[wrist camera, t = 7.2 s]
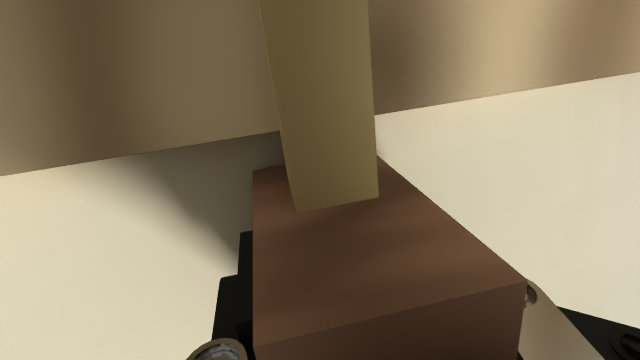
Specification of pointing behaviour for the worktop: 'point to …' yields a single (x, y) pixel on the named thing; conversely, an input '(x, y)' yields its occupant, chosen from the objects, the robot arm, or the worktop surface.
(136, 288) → the worktop surface
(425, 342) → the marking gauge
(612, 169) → the worktop surface
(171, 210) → the worktop surface
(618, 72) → the oak board
